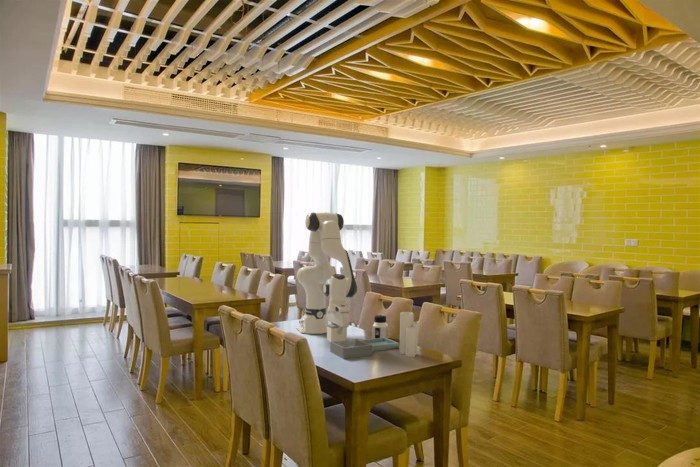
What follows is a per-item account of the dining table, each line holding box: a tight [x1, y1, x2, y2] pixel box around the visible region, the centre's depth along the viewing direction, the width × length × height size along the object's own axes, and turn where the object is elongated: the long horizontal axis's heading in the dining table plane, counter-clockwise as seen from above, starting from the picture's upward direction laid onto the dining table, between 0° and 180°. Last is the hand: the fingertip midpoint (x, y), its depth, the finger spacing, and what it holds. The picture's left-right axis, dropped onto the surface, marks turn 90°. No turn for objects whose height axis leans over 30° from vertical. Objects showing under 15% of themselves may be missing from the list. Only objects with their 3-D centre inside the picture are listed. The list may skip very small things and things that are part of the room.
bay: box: [329, 338, 373, 360], centre depth 243 cm, size 15×15×5 cm
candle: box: [398, 311, 419, 358], centre depth 244 cm, size 11×7×20 cm, turn 27°
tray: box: [360, 337, 400, 352], centre depth 257 cm, size 14×18×2 cm
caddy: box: [326, 323, 348, 343], centre depth 256 cm, size 5×9×8 cm, turn 118°
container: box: [371, 314, 389, 339], centre depth 276 cm, size 8×8×13 cm
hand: (336, 332), depth 256 cm, fingers closed on caddy, 5 cm apart
